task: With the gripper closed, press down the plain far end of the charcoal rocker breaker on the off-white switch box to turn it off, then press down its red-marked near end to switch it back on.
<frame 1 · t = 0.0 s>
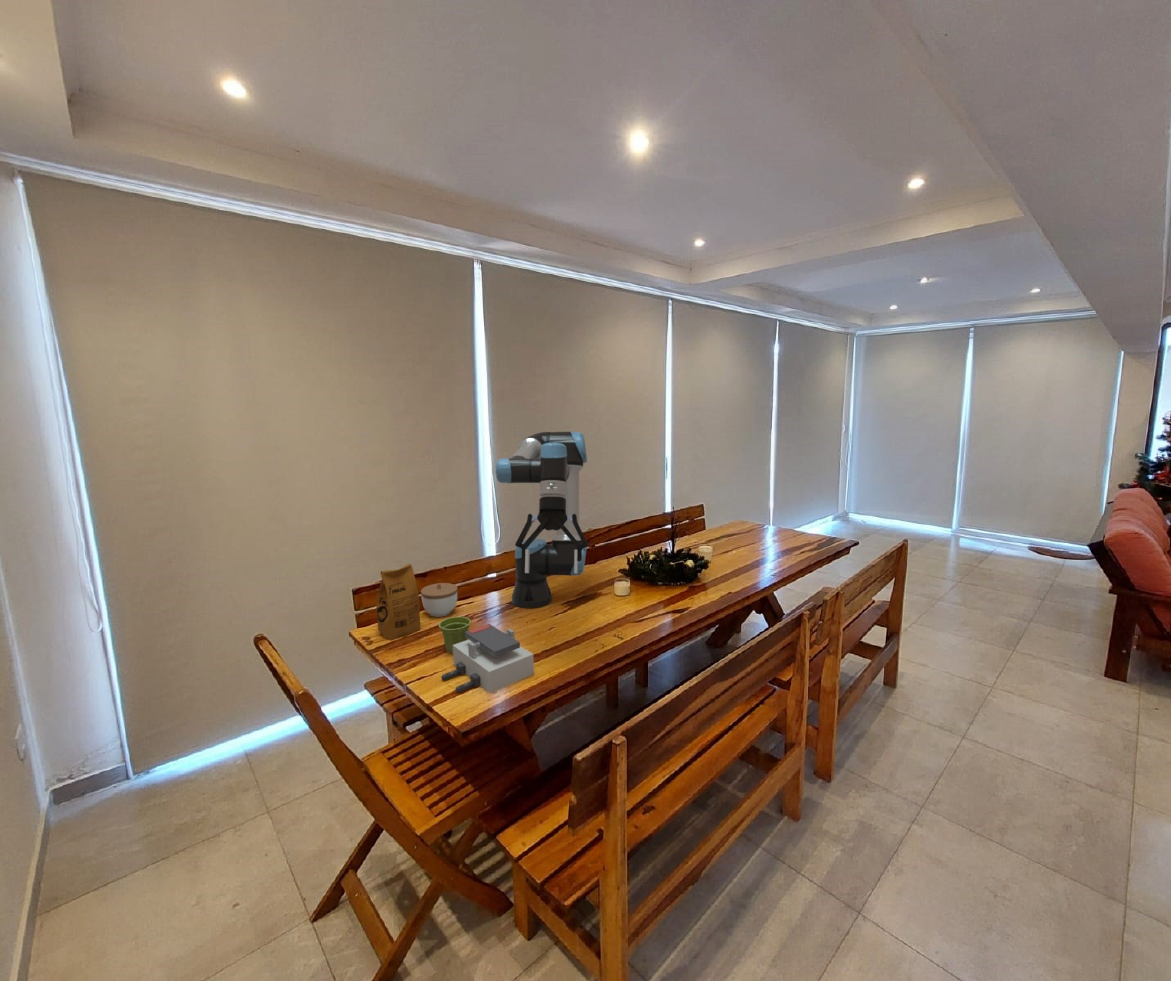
hand: (551, 573, 141), 28 cm above the table, tool tilted 20°, fingers open, 13 cm apart
rocker: (491, 639, 143), point 9 cm above the table, hinge at 0.0°
switch box: (493, 669, 144), on the table
lidded bowl: (440, 613, 184), on the table
plant pot: (456, 649, 156), on the table
coffee package: (399, 632, 169), on the table
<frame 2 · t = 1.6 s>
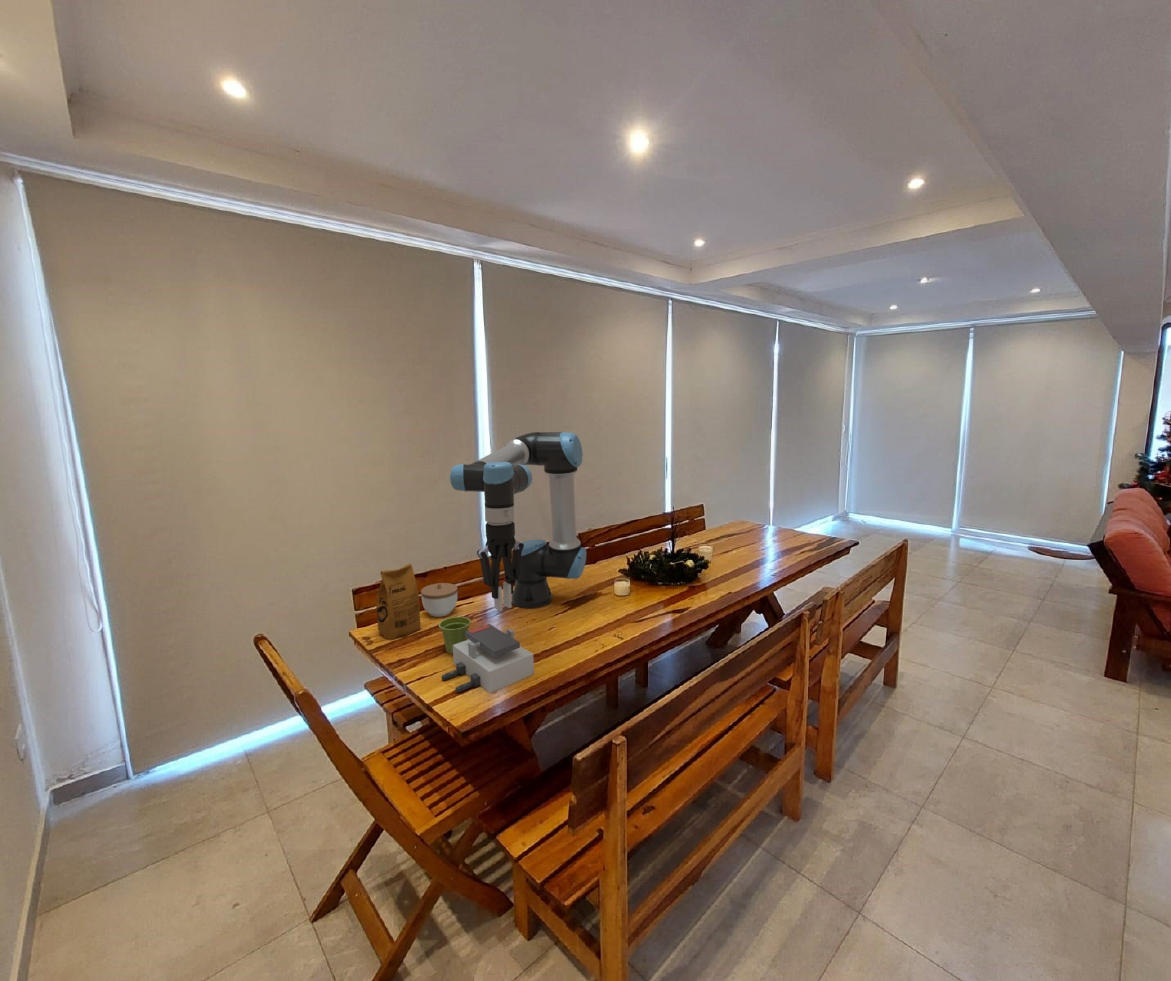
hand: (503, 607, 136), 20 cm above the table, tool pointing down, fingers open, 2 cm apart
nothing on the table moved.
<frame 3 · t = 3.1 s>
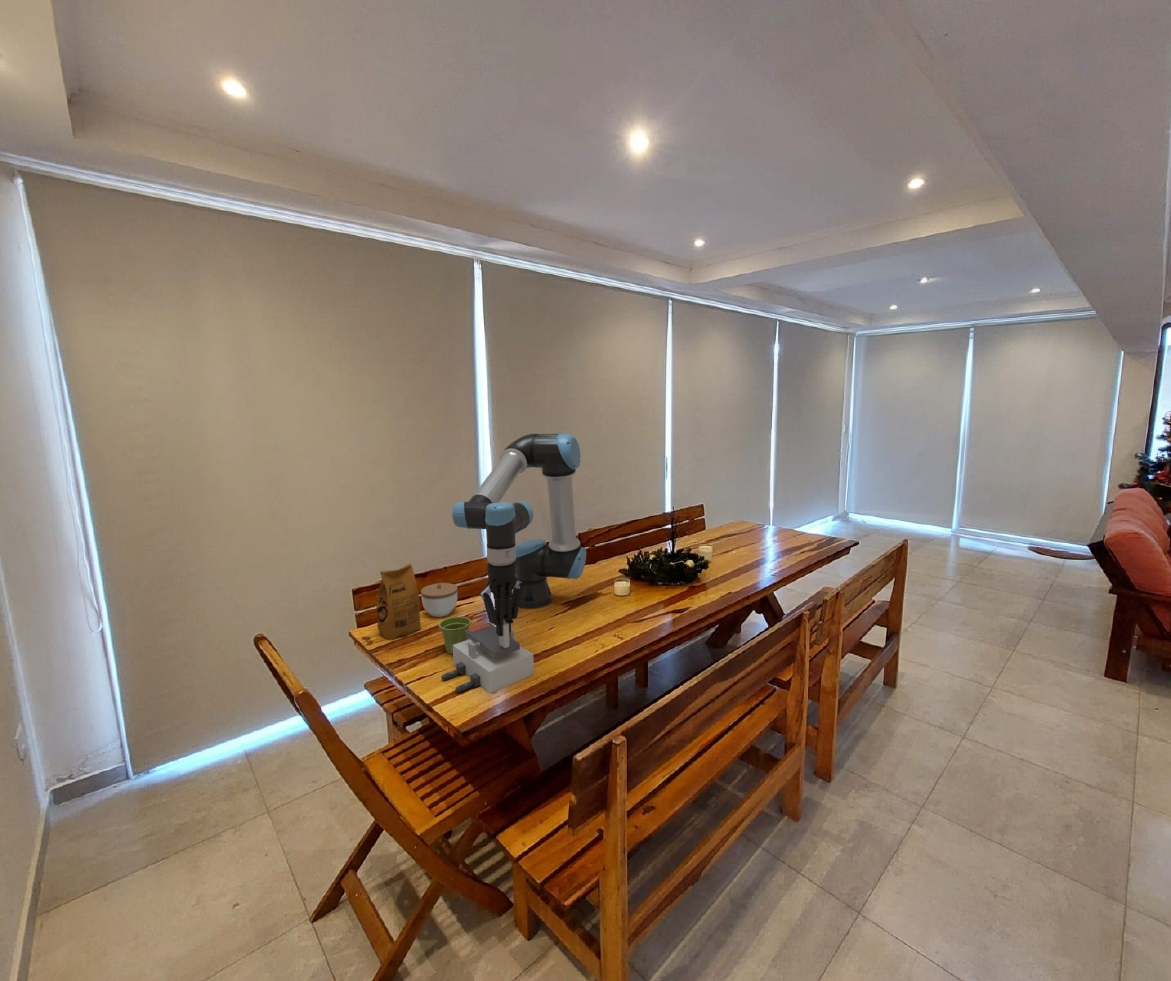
hand: (504, 645, 138), 10 cm above the table, tool pointing down, fingers closed
rocker: (491, 639, 143), point 9 cm above the table, hinge at -3.5°, touching gripper
everything else where it was.
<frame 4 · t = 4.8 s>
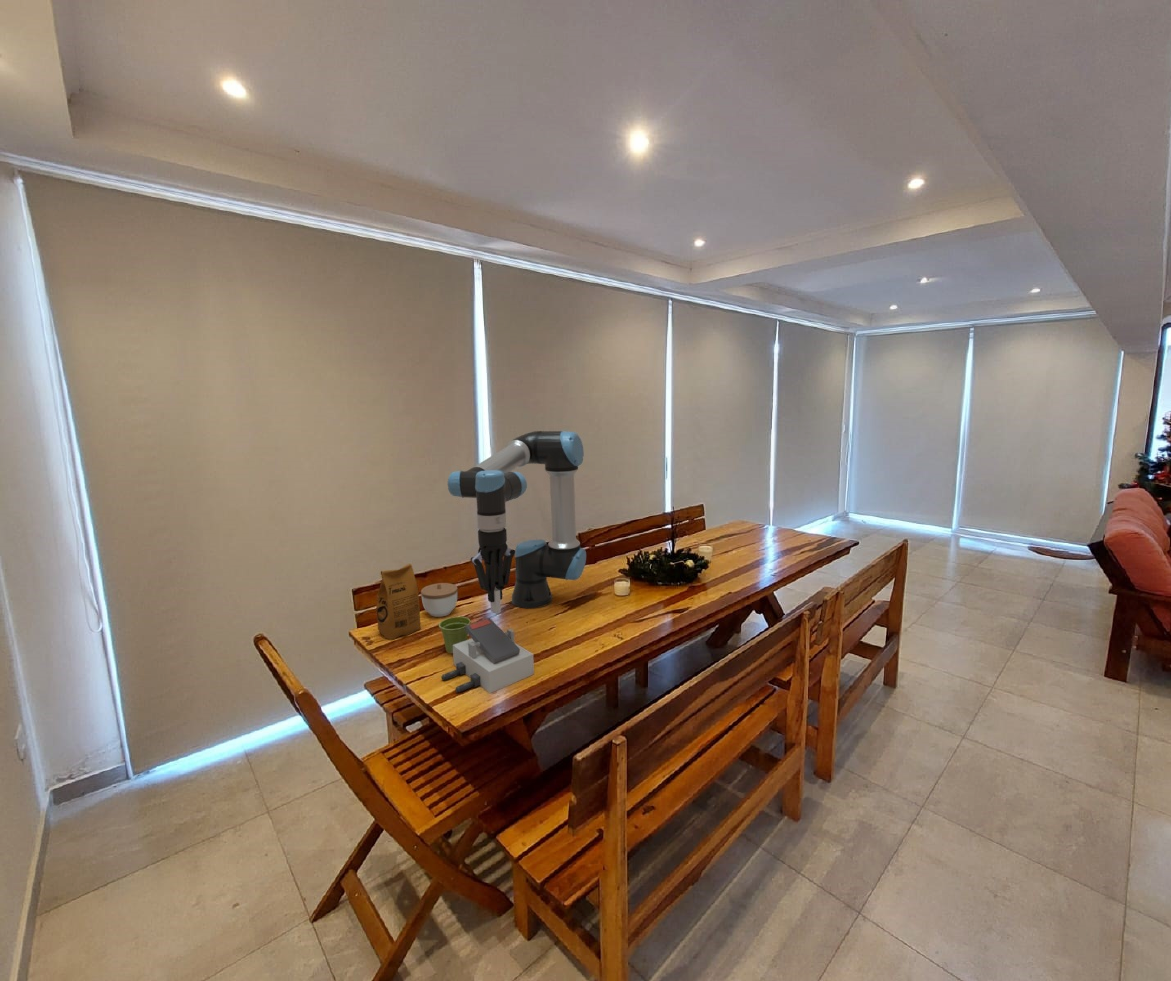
hand: (495, 611, 140), 18 cm above the table, tool pointing down, fingers closed
rocker: (491, 639, 143), point 9 cm above the table, hinge at -14.6°
everything else where it was.
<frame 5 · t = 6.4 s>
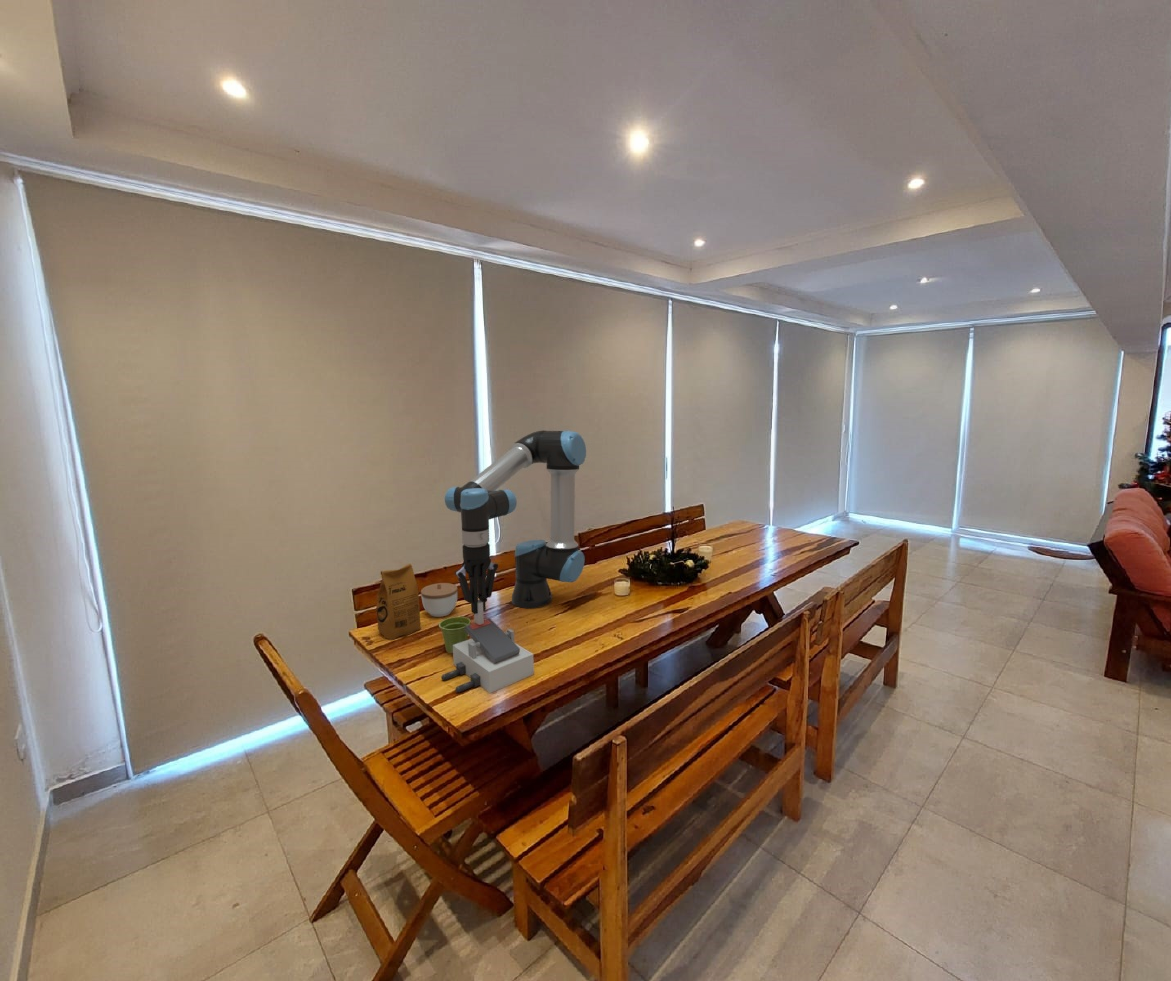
hand: (479, 622, 147), 12 cm above the table, tool pointing down, fingers closed
rocker: (491, 639, 143), point 9 cm above the table, hinge at -14.1°, touching gripper
everything else where it was.
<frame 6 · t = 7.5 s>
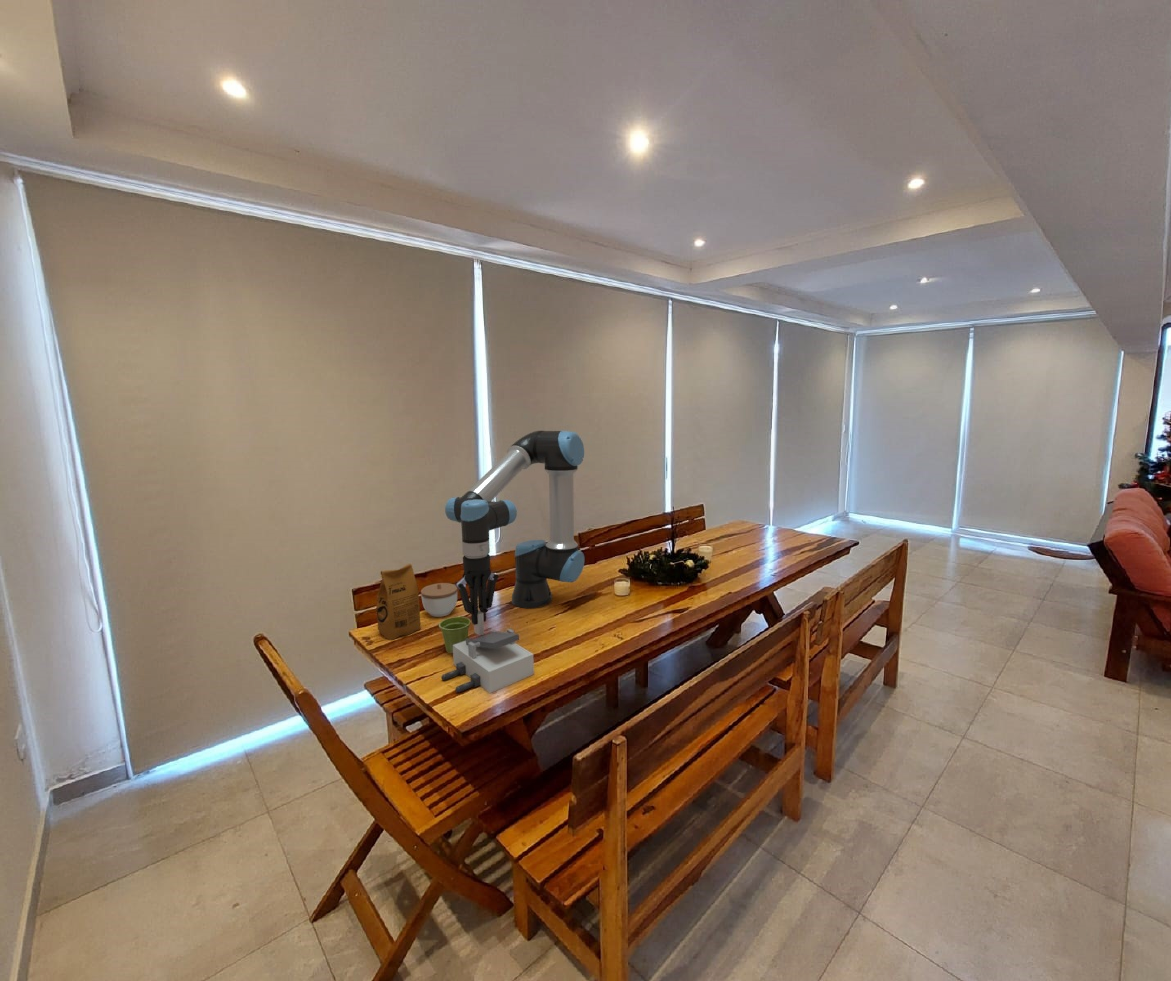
hand: (479, 633, 148), 9 cm above the table, tool pointing down, fingers closed
rocker: (491, 639, 143), point 9 cm above the table, hinge at 16.3°, touching gripper, switch box
everything else where it was.
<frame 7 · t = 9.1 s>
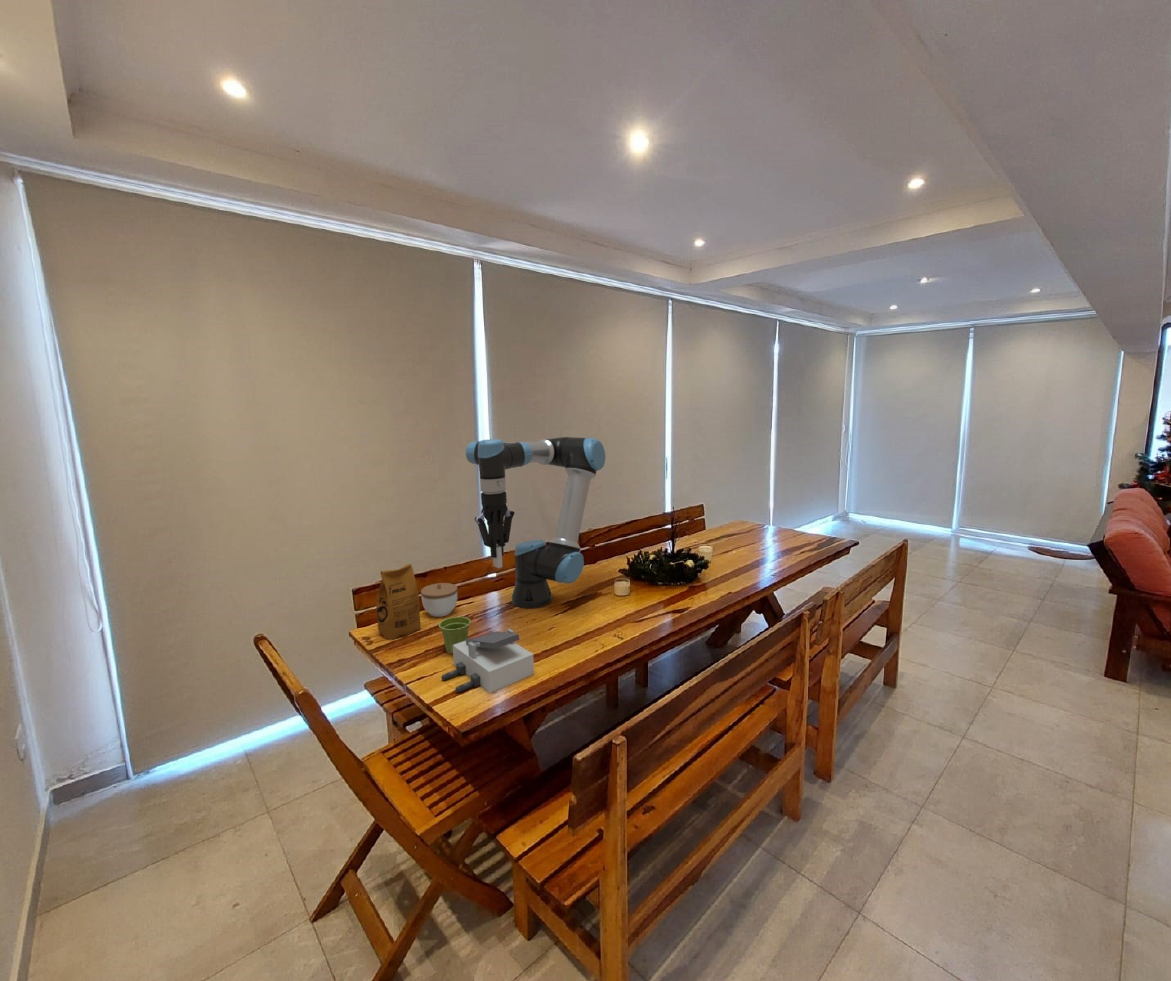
hand: (498, 566, 157), 25 cm above the table, tool pointing down, fingers closed
rocker: (491, 639, 143), point 9 cm above the table, hinge at 16.2°, touching switch box
everything else where it was.
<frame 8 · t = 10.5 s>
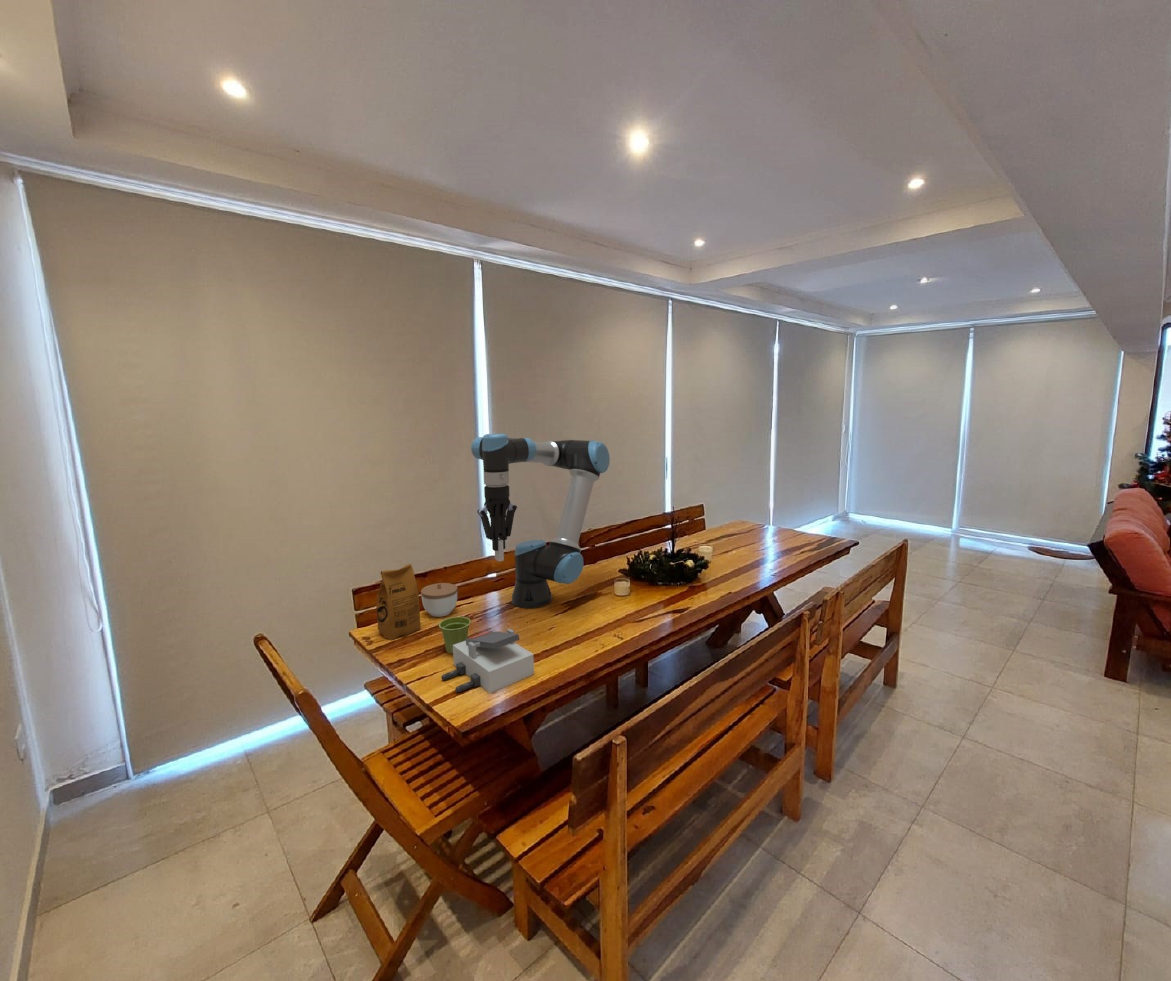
hand: (499, 560, 158), 26 cm above the table, tool pointing down, fingers closed
nothing on the table moved.
at the end: rocker at +16° (first picture: +0°) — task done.
